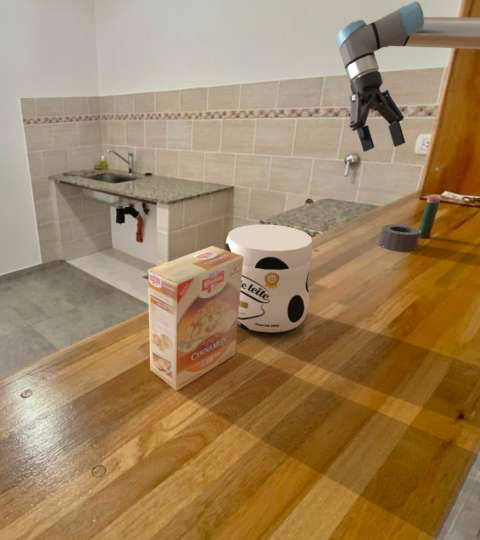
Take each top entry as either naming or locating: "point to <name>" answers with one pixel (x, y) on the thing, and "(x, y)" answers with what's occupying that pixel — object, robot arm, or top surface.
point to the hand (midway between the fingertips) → (384, 147)
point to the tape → (399, 237)
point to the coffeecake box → (193, 314)
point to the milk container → (272, 276)
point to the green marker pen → (429, 216)
